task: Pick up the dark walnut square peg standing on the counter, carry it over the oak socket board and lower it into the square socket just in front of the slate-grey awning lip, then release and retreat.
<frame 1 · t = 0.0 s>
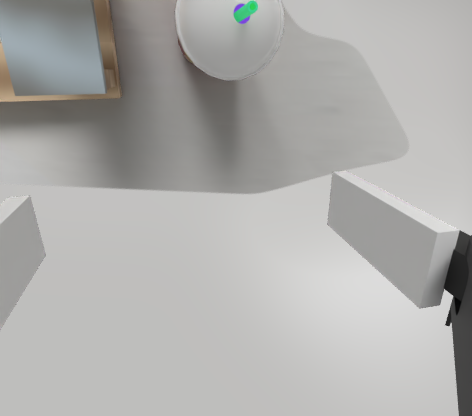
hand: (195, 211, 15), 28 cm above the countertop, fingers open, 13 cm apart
smoothie: (207, 37, 38), on the countertop
socket board: (24, 2, 33), on the countertop
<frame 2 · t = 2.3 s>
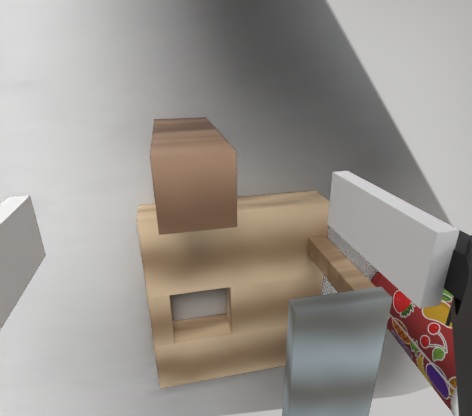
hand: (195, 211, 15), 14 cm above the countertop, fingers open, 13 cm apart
smoothie: (390, 282, 38), on the countertop
peg: (182, 143, 27), on the countertop
socket board: (233, 282, 33), on the countertop
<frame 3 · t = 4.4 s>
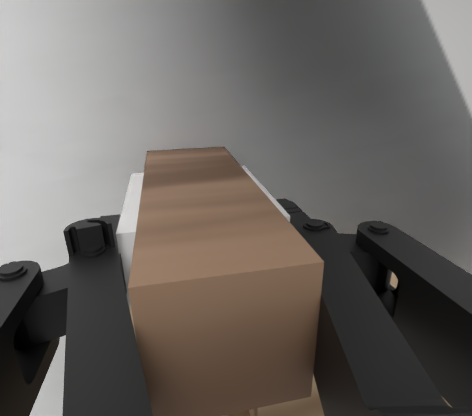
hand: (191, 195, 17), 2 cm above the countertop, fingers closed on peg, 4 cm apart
peg: (188, 185, 18), on the countertop, touching gripper
socket board: (257, 364, 24), on the countertop
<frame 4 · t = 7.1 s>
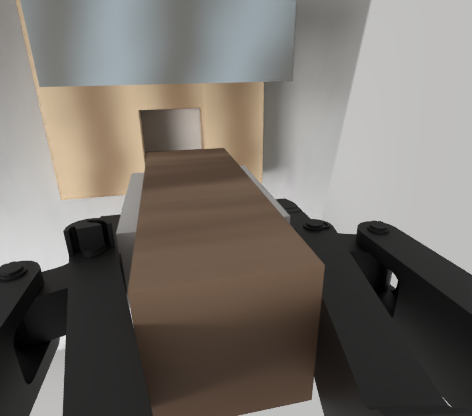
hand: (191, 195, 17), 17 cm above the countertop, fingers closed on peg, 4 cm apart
peg: (189, 186, 18), point 15 cm above the countertop, touching gripper
socket board: (158, 96, 30), on the countertop
when the fingers open (4 cm above the countertop, at t = 9.7 s): peg drops 2 cm, resting in socket board.
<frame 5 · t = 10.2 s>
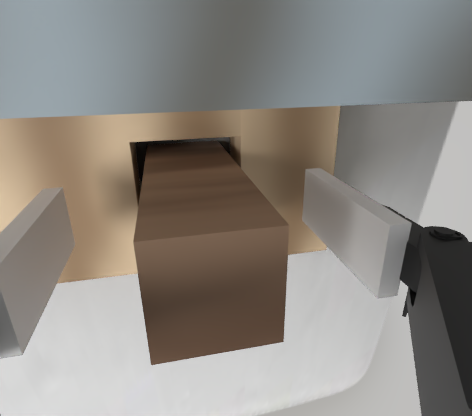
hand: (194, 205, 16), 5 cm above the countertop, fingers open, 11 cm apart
peg: (185, 175, 20), resting in socket board
socket board: (163, 115, 19), on the countertop
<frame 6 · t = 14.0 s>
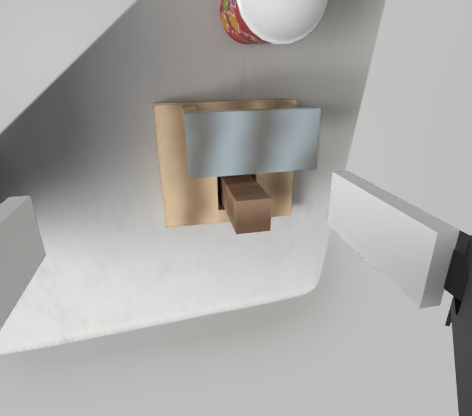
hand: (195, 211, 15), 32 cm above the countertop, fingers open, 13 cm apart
smoothie: (245, 14, 41), on the countertop
peg: (232, 183, 49), resting in socket board
socket board: (225, 160, 47), on the countertop
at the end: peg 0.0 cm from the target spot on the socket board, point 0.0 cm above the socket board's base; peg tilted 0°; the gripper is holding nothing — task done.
